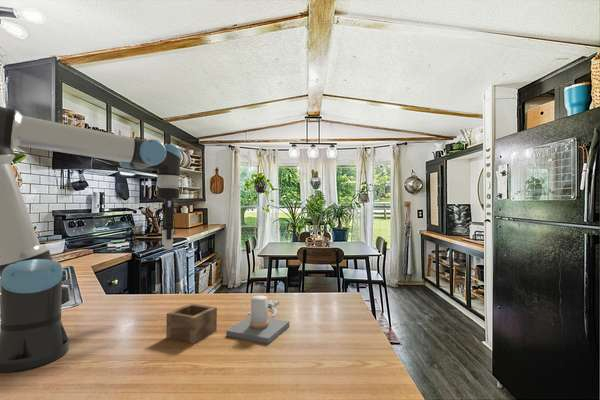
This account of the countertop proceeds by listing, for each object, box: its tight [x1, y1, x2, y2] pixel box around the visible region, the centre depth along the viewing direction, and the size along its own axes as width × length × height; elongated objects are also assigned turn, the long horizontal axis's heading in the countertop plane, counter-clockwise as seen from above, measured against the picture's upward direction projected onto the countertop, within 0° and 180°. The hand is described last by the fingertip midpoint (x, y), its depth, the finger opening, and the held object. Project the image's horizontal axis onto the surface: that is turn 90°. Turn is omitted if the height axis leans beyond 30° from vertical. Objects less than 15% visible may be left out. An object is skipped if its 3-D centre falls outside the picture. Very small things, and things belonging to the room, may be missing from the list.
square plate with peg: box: [225, 295, 290, 345], centre depth 97 cm, size 14×14×10 cm
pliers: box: [247, 299, 280, 318], centre depth 117 cm, size 10×2×15 cm
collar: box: [165, 303, 218, 345], centre depth 94 cm, size 10×10×7 cm
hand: (167, 246), depth 114 cm, fingers open, 13 cm apart
